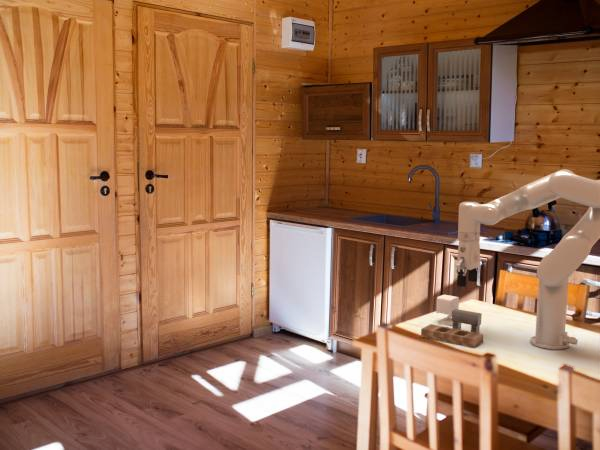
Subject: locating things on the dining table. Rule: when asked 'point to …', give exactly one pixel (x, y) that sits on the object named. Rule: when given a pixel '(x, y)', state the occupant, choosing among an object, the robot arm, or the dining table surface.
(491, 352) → the dining table surface
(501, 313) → the dining table surface
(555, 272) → the robot arm
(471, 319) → the grey rectangular block
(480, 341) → the wooden frame
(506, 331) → the dining table surface
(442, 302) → the security camera
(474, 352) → the dining table surface
